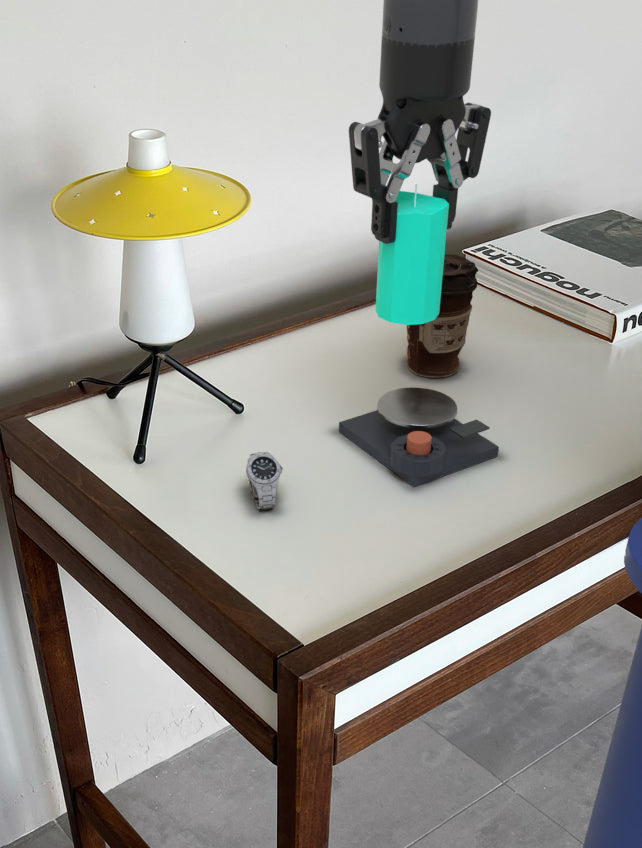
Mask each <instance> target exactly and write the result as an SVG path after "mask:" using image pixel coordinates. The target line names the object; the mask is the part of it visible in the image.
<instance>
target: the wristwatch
mask: <svg viewBox="0 0 642 848" xmlns="http://www.w3.org/2000/svg"><path fill="white" fill-rule="evenodd" d="M283 470H284V467H283V466H282V464H281V463H280V462H279V461H278V460H277V458H275V456H274V455H273V454H272V453H270V452H264V451H258V452H254V453H250V454H249V457H248V458H247V463H246V467H245V473H246V477H247V479H248V482H249V483H248V486H249V489H250V490H249V492H250V494H251V495H250V496H251V499H252V500H253V503H254V504H255V507H256V508H257V510H263V511H265V510H270V509H274V508H275V504H276V499H277V498H276V497H277V496H276V495H277V487H278V484H279V480H280V478H281V475H282V473H283Z"/></svg>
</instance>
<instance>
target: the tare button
mask: <svg viewBox="0 0 642 848" xmlns="http://www.w3.org/2000/svg"><path fill="white" fill-rule="evenodd" d="M431 440H432V437H431V435H430V434H428V433H426V432H423V431H414V432H411V433H409V434H408V436H407V445H406V450H407V452H408V453H410V454H414V455H426V454H429V453H430V451H431Z"/></svg>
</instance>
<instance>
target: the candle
mask: <svg viewBox="0 0 642 848" xmlns="http://www.w3.org/2000/svg"><path fill="white" fill-rule="evenodd" d="M414 185H415V186H414V192H412V191H405V190H400V191H399V194H398V196H397V199H396V200H395V201H396V202H398V210H397V225H396V239H395V242H393V243H389V244H385V243H383V242H381V241H379V240H378V253H377V270H376V271H377V272H376V273H377V274H376V291H375V295H376V296H375V313H376V314H377V316H378V318H379V319H381V320H384V321H385V322H388V323H390V324H396V325H397V324H398V325H403V326H407V325H416V324H424V323H427V322H430V321H433V320H435V319H436V317H437V316H438V315H439V310H440V299H441V288H442V277H443V266H444V255H445V254H446V243H447V231H448V230H447V222H448V211H449V203H448V202H447V201H446V200H445V199H442V198H437V197H433V195H429V194H423V193H418V192H417V190H418V184H417V183H416V184H414Z"/></svg>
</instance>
